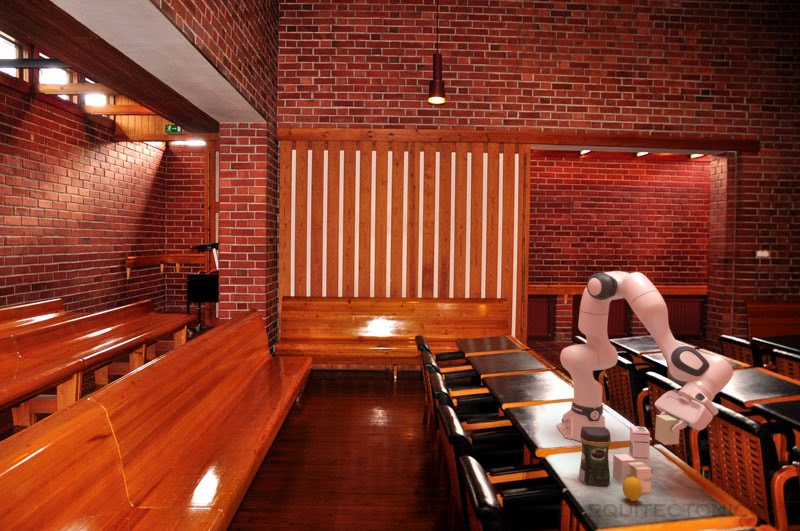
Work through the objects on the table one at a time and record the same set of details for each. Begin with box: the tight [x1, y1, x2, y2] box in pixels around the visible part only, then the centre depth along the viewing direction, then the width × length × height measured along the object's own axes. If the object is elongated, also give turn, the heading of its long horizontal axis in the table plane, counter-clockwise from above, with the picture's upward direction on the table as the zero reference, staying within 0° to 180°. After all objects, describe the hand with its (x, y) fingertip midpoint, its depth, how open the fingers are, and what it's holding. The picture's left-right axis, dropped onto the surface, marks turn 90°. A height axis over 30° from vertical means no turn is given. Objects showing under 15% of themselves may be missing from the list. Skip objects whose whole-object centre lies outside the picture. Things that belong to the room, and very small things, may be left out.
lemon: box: [622, 476, 643, 502], centre depth 167 cm, size 6×6×8 cm
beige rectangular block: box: [654, 414, 680, 446], centre depth 175 cm, size 5×5×8 cm
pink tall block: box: [628, 462, 652, 494], centre depth 175 cm, size 5×5×8 cm
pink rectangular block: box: [612, 453, 636, 485], centre depth 182 cm, size 5×5×8 cm
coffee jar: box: [578, 426, 611, 486], centre depth 180 cm, size 10×8×19 cm
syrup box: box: [628, 425, 651, 467], centre depth 191 cm, size 6×6×14 cm
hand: (665, 427), depth 175 cm, fingers closed on beige rectangular block, 5 cm apart
